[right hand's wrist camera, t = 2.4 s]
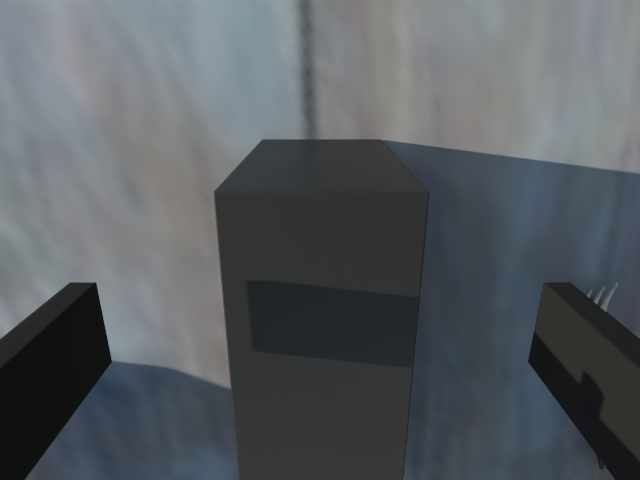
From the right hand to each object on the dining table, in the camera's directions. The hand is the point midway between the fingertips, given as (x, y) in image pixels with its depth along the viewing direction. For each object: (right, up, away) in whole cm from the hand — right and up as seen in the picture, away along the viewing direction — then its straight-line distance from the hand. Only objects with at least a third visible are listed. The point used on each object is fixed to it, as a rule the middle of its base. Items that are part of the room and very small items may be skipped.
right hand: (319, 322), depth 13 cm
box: (0, -4, +15) cm, 16 cm away
